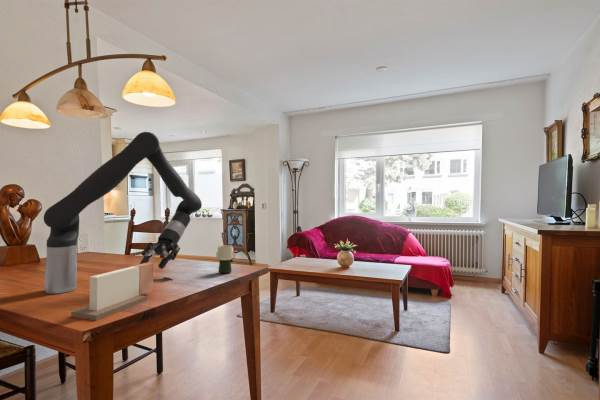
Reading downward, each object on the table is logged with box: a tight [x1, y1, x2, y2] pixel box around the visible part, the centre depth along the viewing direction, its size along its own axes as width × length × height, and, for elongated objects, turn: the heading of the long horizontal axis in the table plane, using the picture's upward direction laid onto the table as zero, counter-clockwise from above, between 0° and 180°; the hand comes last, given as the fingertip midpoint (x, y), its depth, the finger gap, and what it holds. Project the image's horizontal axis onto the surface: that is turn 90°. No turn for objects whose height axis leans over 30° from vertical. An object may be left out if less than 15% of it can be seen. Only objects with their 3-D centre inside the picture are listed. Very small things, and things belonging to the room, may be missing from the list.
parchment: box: [153, 277, 174, 286], centre depth 125 cm, size 25×10×1 cm, turn 150°
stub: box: [134, 262, 154, 295], centre depth 111 cm, size 3×6×10 cm, turn 163°
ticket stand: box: [70, 265, 148, 322], centre depth 98 cm, size 10×19×12 cm, turn 163°
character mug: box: [215, 244, 235, 274], centre depth 148 cm, size 11×7×13 cm, turn 147°
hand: (150, 267), depth 114 cm, fingers open, 8 cm apart
